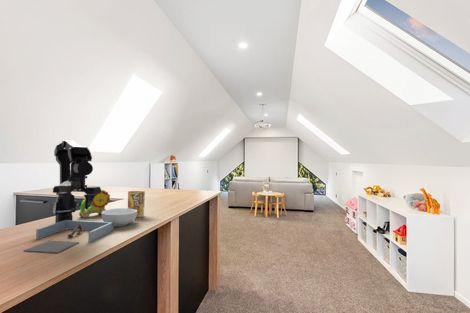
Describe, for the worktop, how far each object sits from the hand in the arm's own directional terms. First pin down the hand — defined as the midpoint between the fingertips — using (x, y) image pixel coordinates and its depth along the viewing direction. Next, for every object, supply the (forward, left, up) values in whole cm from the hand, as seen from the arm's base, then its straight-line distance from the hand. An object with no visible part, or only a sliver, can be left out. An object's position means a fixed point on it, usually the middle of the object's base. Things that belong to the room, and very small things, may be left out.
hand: (76, 209), depth 108 cm
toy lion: (-15, +36, -12) cm, 41 cm away
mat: (+2, -15, -12) cm, 19 cm away
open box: (0, +1, -12) cm, 12 cm away
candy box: (+9, +38, -12) cm, 41 cm away
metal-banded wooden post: (0, 0, -12) cm, 12 cm away
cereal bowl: (+9, +20, -12) cm, 25 cm away
